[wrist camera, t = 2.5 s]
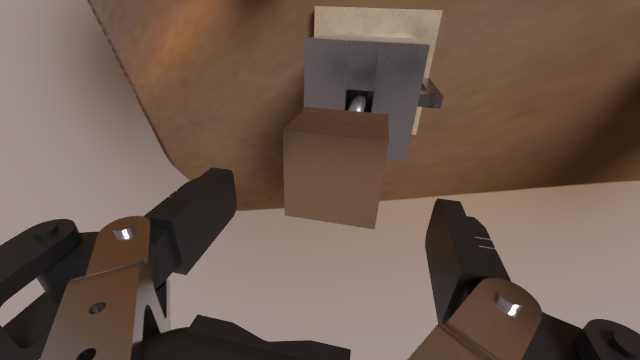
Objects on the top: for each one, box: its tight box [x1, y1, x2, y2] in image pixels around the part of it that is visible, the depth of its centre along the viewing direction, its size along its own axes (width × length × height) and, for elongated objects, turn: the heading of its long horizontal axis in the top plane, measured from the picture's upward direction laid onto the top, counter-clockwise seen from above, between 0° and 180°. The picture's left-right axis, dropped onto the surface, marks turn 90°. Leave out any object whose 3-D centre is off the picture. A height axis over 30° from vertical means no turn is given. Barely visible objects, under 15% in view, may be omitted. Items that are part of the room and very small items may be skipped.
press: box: [304, 6, 443, 162], centre depth 33 cm, size 16×16×18 cm
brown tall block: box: [282, 89, 389, 229], centre depth 22 cm, size 7×7×21 cm
